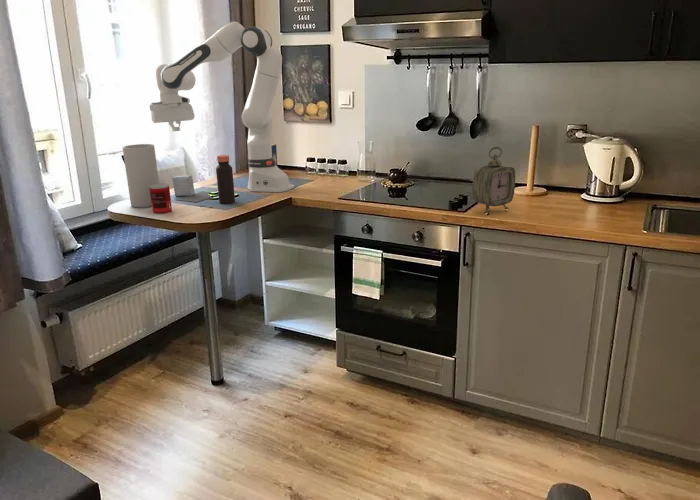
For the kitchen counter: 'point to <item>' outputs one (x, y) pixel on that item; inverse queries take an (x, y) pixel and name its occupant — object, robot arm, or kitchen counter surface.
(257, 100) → the robot arm
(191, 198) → the mat
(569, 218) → the kitchen counter surface
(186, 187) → the medicine box
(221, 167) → the bottle
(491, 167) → the tabletop clock
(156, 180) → the cylinder vase
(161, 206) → the canned food
